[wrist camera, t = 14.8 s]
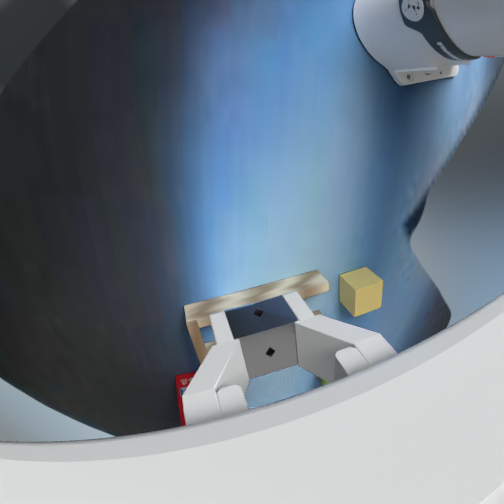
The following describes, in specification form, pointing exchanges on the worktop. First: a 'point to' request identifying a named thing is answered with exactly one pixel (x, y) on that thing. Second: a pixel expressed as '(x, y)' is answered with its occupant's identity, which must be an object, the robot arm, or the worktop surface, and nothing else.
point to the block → (360, 291)
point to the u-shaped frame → (200, 311)
